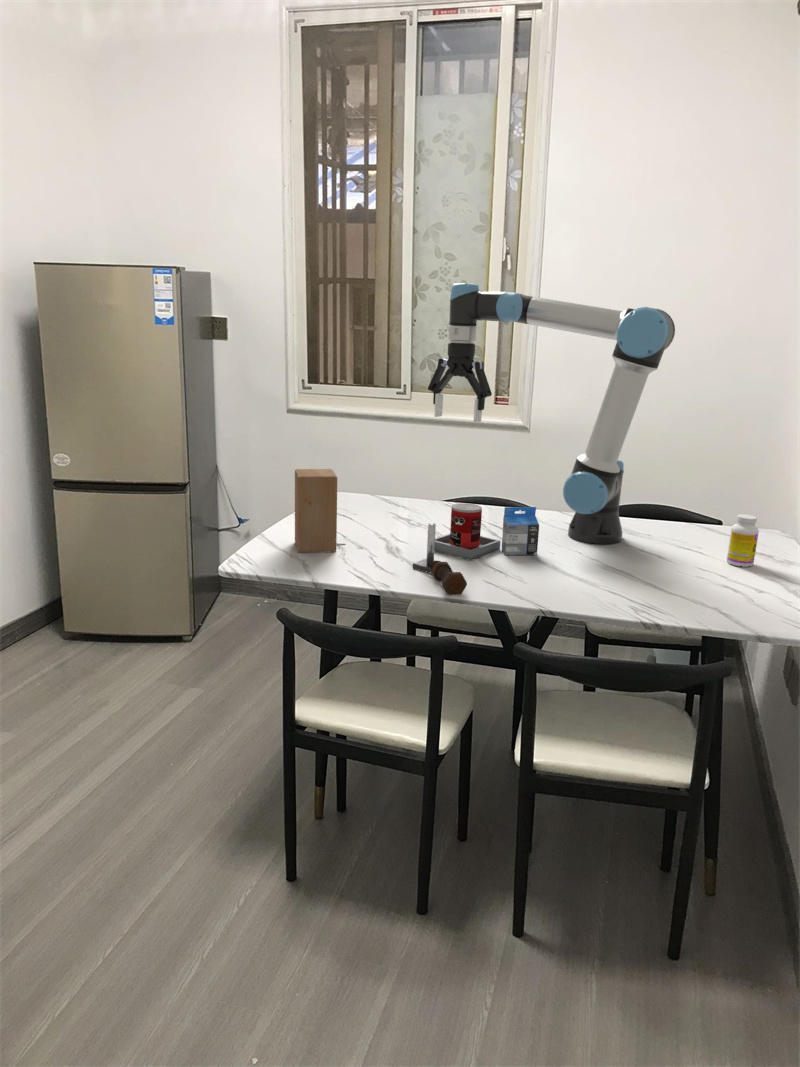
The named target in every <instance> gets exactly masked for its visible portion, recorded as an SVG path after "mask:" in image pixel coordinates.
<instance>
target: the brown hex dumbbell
mask: <svg viewBox="0 0 800 1067" xmlns="http://www.w3.org/2000/svg"><path fill="white" fill-rule="evenodd" d="M431 572H432V573H431V574H432V576H433V577H434V579H435V581H437V582H440V584H441V586H442V588H443V589H444V590H443V591H444V592H445V594H446V595H448V596H460V595H462V594H463V592H465V590H466V587H467V585H468V583H467V580H466V579H465V577H464V575H463V573H462V572H461V571H453V569H452V567H451V565H450V564H449V562H447V561H441V560H437V561H434V562H433V564H431ZM459 594H460V595H459Z"/></svg>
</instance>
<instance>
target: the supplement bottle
mask: <svg viewBox="0 0 800 1067" xmlns="http://www.w3.org/2000/svg"><path fill="white" fill-rule="evenodd" d="M757 519H758V518H757V517H756V516H755V515H751V514H745V513H744V514H737V516H736V522H737V523H735V524H733V525H732V526H731V529H730V535H729V541H728V546H727V554H726V558H725V559H726V562H727V563H728V564H729V565H731V564H732V565H731V566H734V565H735V567H740V566H742V567H741V568H750V567H752V566H754V562H755V556H756V551H757V544H758V539H759V532H760V530H759V528H758V527H757V526H756V523H757ZM749 566H750V567H749Z"/></svg>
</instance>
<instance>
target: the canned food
mask: <svg viewBox="0 0 800 1067" xmlns="http://www.w3.org/2000/svg"><path fill="white" fill-rule="evenodd" d="M482 511H483V509H482V506H481V505H478V504H475V503H465V502H463V503H455V504H452V505H451V511H450V512H451V513H450V530H449V531H450V533H449V534H450V545H454V546H458V547H462V548H466V549H470V550H471V549H474V548H477V547H479V545H480V536H481V531H482V530H481V529H482V528H481V527H482V516H483V512H482Z"/></svg>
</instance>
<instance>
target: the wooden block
mask: <svg viewBox="0 0 800 1067" xmlns="http://www.w3.org/2000/svg"><path fill="white" fill-rule="evenodd" d="M337 519H338V476H337V474H336V473H335V471H334V470H333V469H332V468H297V469H295V470H294V543H295V546H296V551H297V553H332V552H333V553H335V552H336V551H337V540H338V539H337V538H338V537H337V533H338V532H337V529H338V528H337V527H338V526H337V525H338V520H337Z"/></svg>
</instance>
